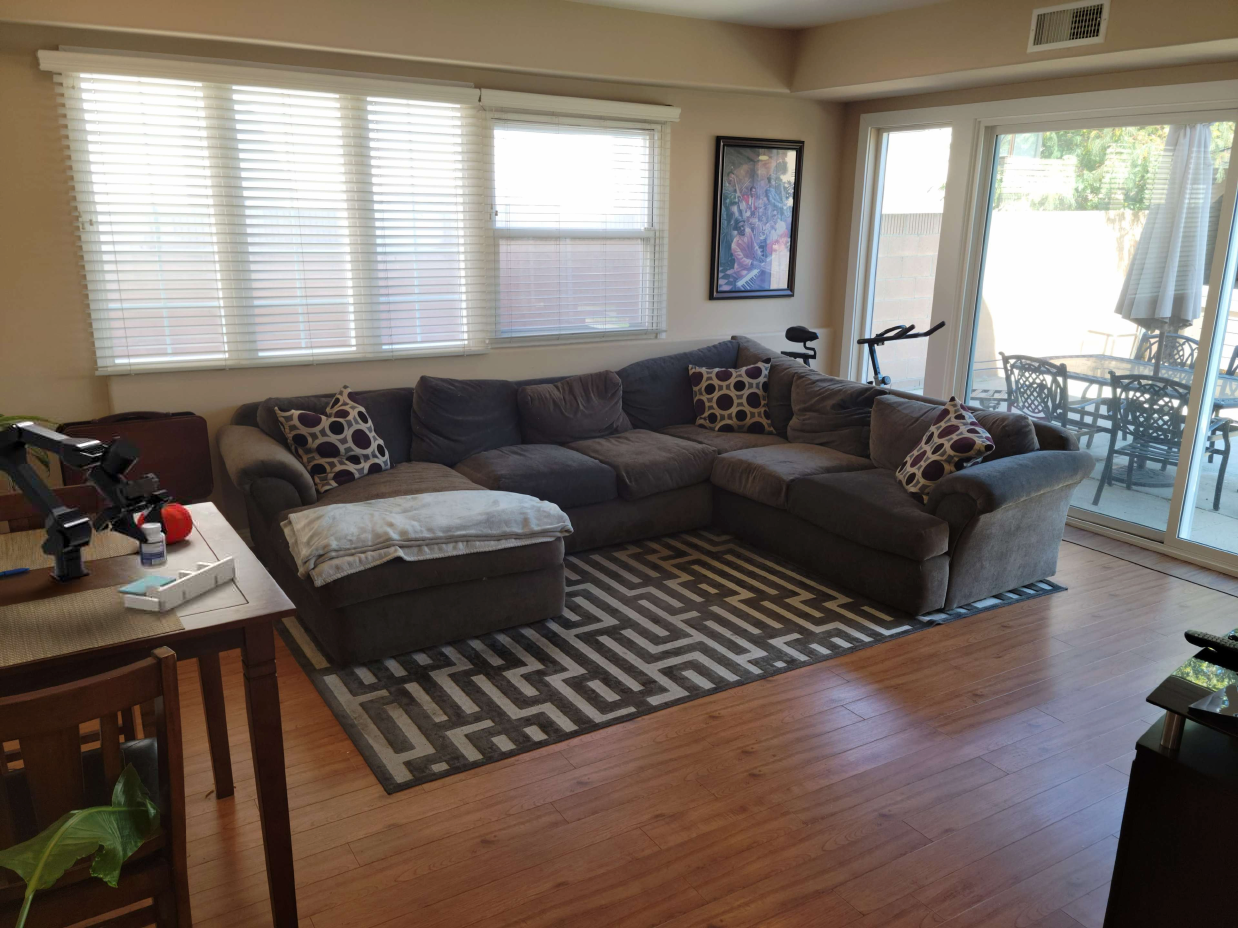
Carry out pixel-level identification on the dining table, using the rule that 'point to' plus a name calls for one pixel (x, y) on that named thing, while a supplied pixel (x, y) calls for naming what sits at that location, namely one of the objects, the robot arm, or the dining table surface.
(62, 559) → the robot arm
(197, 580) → the lane rack
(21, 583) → the dining table surface
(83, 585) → the dining table surface
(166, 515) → the tomato
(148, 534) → the pill bottle
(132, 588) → the teal mat
